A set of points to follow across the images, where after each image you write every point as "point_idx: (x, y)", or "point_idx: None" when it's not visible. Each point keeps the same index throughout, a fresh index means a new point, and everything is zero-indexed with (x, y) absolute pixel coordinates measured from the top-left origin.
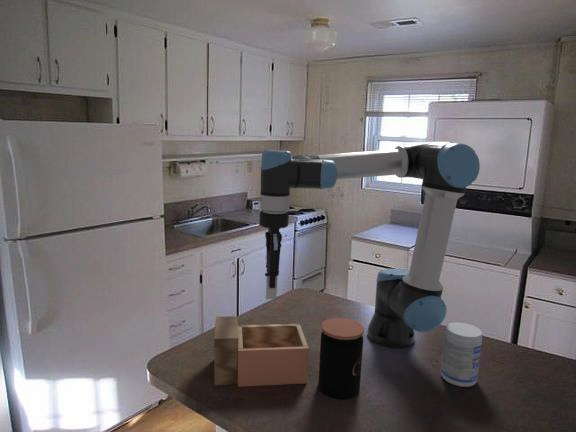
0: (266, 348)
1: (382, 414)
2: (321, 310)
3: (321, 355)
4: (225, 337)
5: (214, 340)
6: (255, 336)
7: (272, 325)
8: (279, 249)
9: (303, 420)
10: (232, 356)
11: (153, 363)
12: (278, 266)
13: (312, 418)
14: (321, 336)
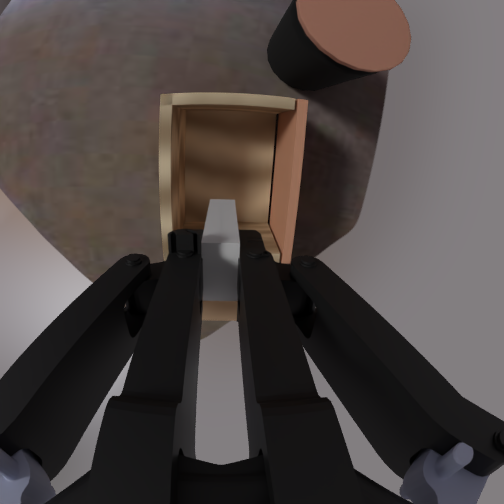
0: (291, 202)
1: None
2: (10, 61)
3: (334, 80)
4: None
5: None
6: (176, 209)
7: (165, 171)
8: (479, 415)
9: (364, 140)
10: None
11: None
12: (361, 302)
13: (362, 125)
14: (344, 72)
